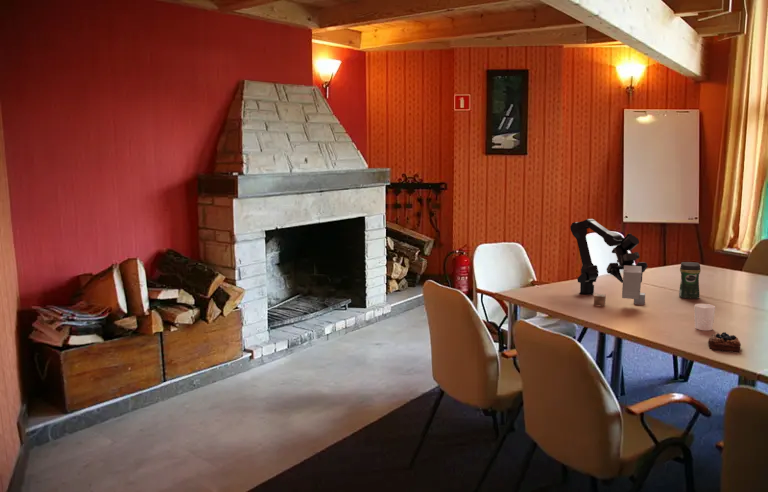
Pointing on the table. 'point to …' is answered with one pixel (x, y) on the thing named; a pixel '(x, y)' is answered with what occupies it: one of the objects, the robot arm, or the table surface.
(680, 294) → the coffee jar
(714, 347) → the pastry
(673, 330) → the table surface
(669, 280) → the table surface
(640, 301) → the slate-grey block
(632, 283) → the skincare box
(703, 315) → the white cup
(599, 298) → the walnut block
